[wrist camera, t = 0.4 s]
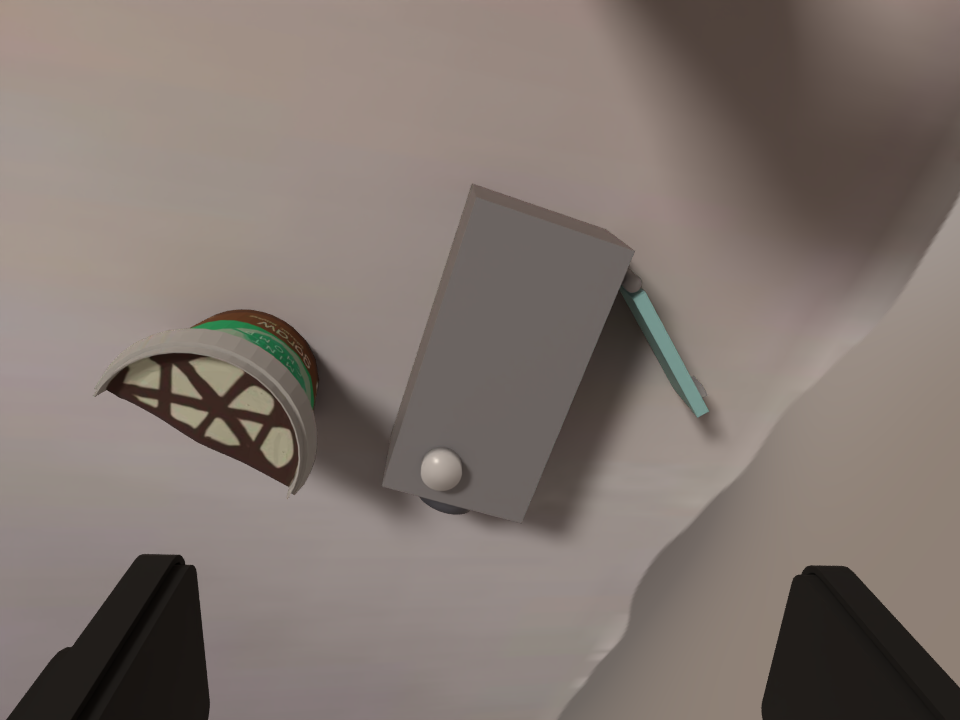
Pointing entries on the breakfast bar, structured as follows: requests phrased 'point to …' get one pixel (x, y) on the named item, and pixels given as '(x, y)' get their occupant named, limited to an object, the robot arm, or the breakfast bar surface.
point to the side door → (662, 344)
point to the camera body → (502, 355)
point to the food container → (229, 389)
